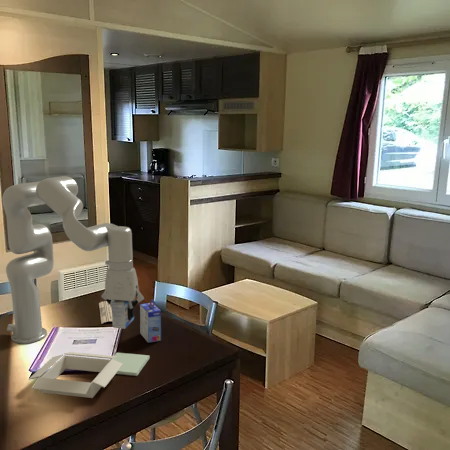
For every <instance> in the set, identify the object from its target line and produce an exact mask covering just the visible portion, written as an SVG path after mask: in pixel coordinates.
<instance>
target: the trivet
mask: <svg viewBox="0 0 450 450" xmlns="http://www.w3.org/2000/svg"><path fill="white" fill-rule="evenodd" d="M113 356H117V358H114V359H113V360H116V361H118V362H120V363H122V364H123V365H122V367H121V368H120V369H119V370H118V372H117V373H116V374H117V375H125V376H135V377H137V376H138V375H139V374H140V372H141V371H142V369H143V368H144V367H145V365H146V364H147V362H148V361H149V360H150V358H151V357H150V355H146V354H139V353H138V354H136V353H125V352H116V353H115V354H114V355H113ZM110 360H112V359H110ZM116 374H115V375H116Z"/></svg>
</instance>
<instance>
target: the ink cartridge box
mask: <svg viewBox="0 0 450 450" xmlns="http://www.w3.org/2000/svg"><path fill="white" fill-rule="evenodd" d="M139 309H140V310H139V315H140V316H139V317H140V318H139V319H140V320H139V321H140V324H139V327H140V328H139V329H140V332H139V333H140V335H141V336H142V337H143V338H144V339H145V341H146V342H147V343H148V344H150V343H155V342H161V341H162V319H161V318H162V310H161V309H160V308H158V306H156V301H155V300H154V299H151V300H150V302H147V303H140V304H139Z"/></svg>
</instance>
